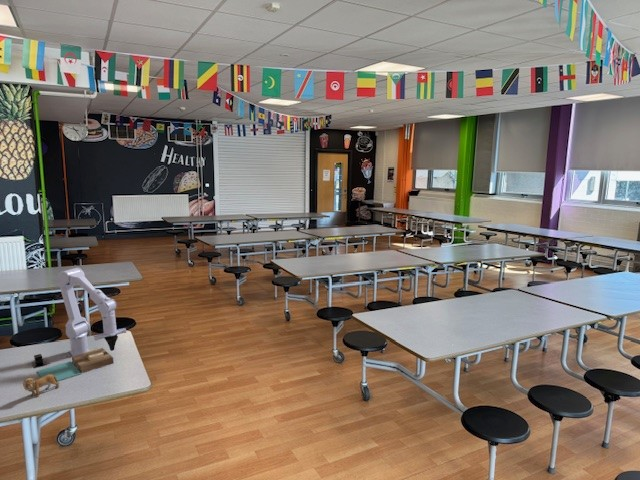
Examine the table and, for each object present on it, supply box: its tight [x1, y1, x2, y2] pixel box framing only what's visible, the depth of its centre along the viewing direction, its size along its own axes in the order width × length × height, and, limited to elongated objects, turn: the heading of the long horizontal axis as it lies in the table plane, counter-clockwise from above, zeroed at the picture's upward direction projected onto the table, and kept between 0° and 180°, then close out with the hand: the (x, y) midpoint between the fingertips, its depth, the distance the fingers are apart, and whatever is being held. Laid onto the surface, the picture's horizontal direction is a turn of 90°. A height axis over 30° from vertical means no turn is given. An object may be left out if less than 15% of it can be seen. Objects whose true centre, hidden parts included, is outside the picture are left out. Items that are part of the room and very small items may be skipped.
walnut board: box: [71, 347, 114, 374], centre depth 206 cm, size 16×14×3 cm
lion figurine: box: [22, 374, 60, 398], centre depth 179 cm, size 15×5×9 cm, turn 159°
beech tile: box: [85, 347, 104, 361], centre depth 207 cm, size 9×6×2 cm, turn 44°
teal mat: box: [36, 360, 82, 386], centre depth 197 cm, size 18×14×1 cm
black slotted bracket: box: [31, 353, 48, 369], centre depth 207 cm, size 12×7×5 cm, turn 40°
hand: (112, 349), depth 212 cm, fingers closed
